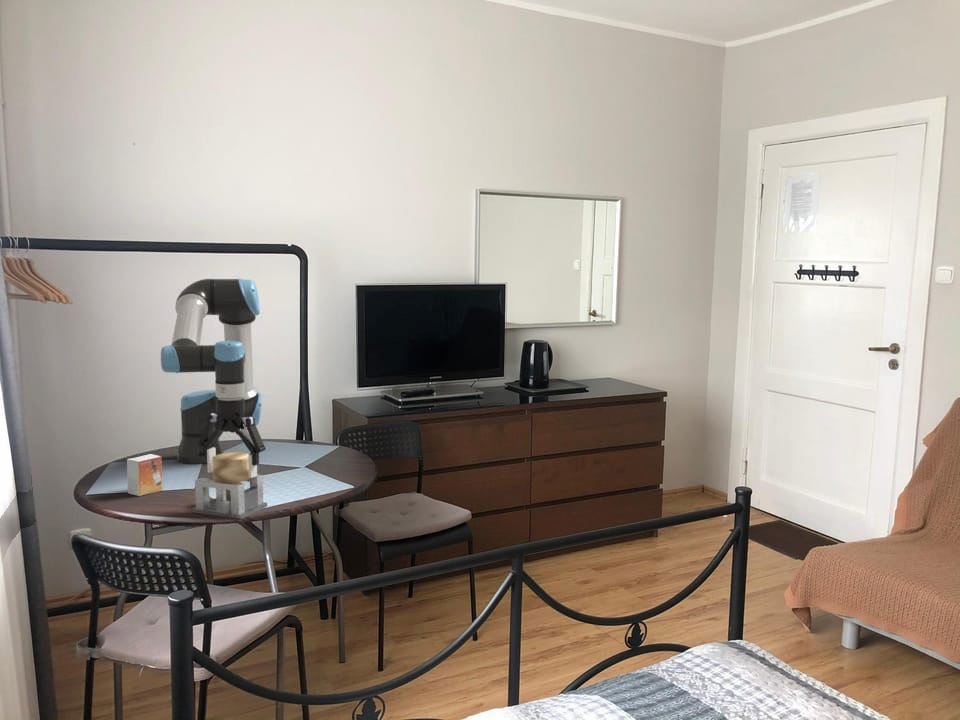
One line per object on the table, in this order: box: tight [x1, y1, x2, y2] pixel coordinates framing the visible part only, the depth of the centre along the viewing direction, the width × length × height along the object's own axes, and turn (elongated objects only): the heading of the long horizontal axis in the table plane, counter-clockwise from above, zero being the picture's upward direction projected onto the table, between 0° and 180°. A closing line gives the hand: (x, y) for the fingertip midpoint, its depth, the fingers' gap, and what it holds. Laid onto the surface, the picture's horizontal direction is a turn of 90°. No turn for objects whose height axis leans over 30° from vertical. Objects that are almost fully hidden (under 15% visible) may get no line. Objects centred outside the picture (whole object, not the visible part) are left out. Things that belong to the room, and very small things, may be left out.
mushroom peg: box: [212, 451, 250, 501], centre depth 216 cm, size 10×10×12 cm
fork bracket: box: [191, 474, 268, 520], centre depth 217 cm, size 16×12×9 cm
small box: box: [126, 453, 163, 497], centre depth 232 cm, size 8×6×10 cm
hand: (232, 474), depth 216 cm, fingers open, 13 cm apart
